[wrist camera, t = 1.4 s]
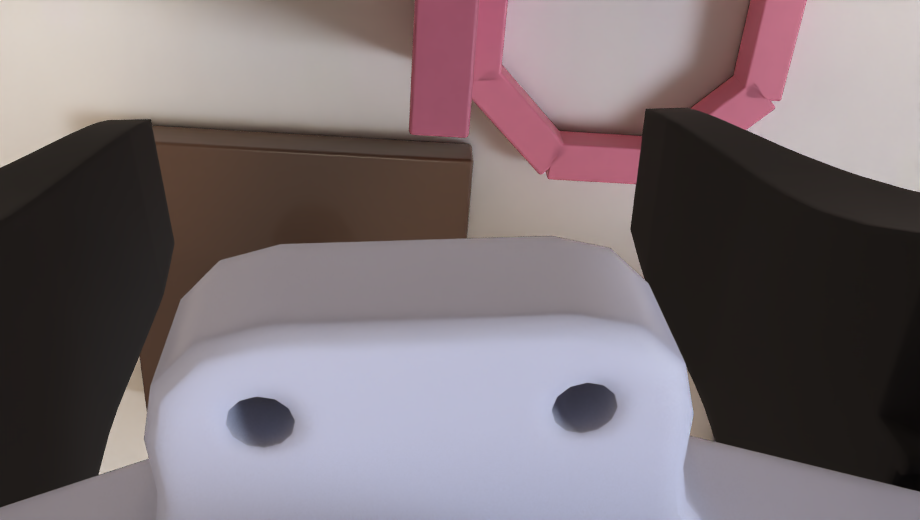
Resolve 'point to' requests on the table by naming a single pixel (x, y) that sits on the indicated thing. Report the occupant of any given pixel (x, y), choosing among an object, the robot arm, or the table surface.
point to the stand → (296, 199)
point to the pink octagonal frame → (525, 125)
